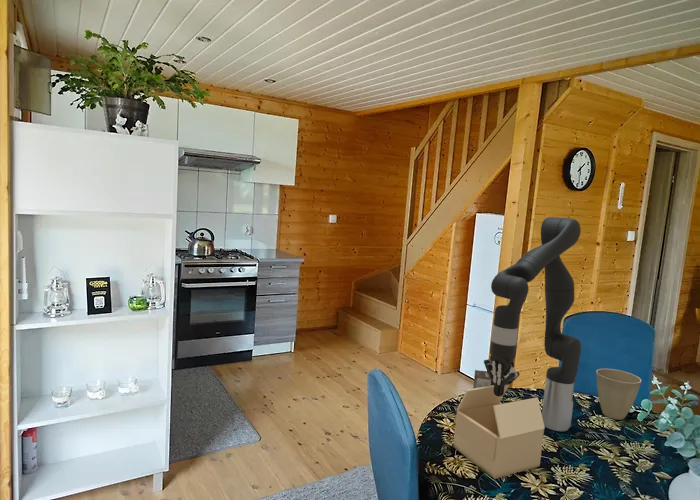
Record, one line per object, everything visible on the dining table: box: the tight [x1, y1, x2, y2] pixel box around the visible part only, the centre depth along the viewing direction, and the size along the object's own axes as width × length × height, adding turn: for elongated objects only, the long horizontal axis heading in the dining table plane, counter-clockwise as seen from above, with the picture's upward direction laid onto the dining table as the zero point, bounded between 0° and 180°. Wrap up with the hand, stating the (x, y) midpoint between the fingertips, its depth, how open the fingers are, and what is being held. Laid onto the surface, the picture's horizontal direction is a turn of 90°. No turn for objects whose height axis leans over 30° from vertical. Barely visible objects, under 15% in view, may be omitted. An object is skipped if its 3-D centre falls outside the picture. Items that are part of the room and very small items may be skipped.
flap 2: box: [493, 396, 546, 439], centre depth 135 cm, size 17×9×1 cm
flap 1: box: [456, 384, 511, 411], centre depth 148 cm, size 17×9×1 cm
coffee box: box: [472, 369, 494, 389], centre depth 168 cm, size 9×6×16 cm
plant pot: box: [595, 368, 642, 421], centre depth 177 cm, size 15×15×16 cm
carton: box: [453, 402, 545, 480], centre depth 142 cm, size 19×18×12 cm
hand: (498, 395), depth 142 cm, fingers closed
